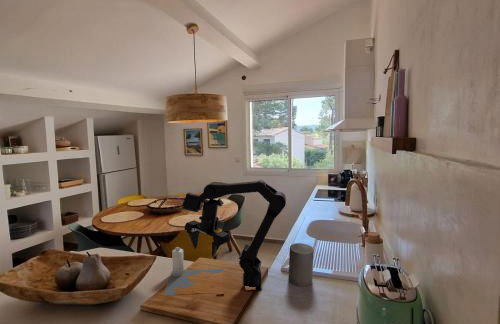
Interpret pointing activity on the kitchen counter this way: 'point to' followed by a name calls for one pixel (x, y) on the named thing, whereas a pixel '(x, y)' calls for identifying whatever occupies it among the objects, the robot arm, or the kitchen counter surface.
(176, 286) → the desk mat
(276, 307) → the kitchen counter surface
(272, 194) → the robot arm
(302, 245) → the pillar candle
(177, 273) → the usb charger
